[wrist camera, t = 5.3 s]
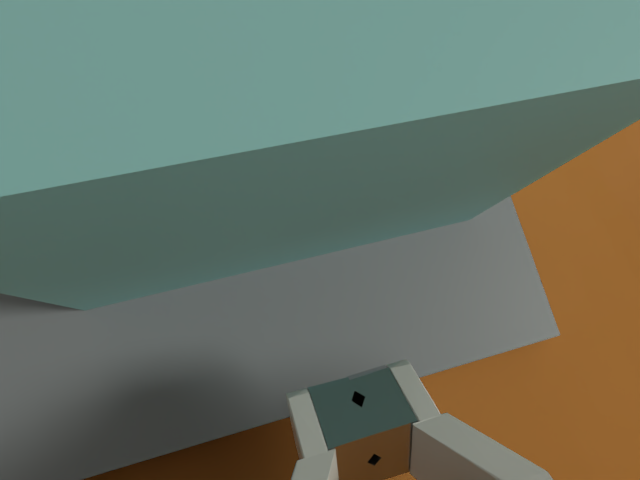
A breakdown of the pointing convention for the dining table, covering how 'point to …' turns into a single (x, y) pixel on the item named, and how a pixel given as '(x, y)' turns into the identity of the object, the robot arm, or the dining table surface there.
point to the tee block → (281, 128)
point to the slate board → (254, 344)
